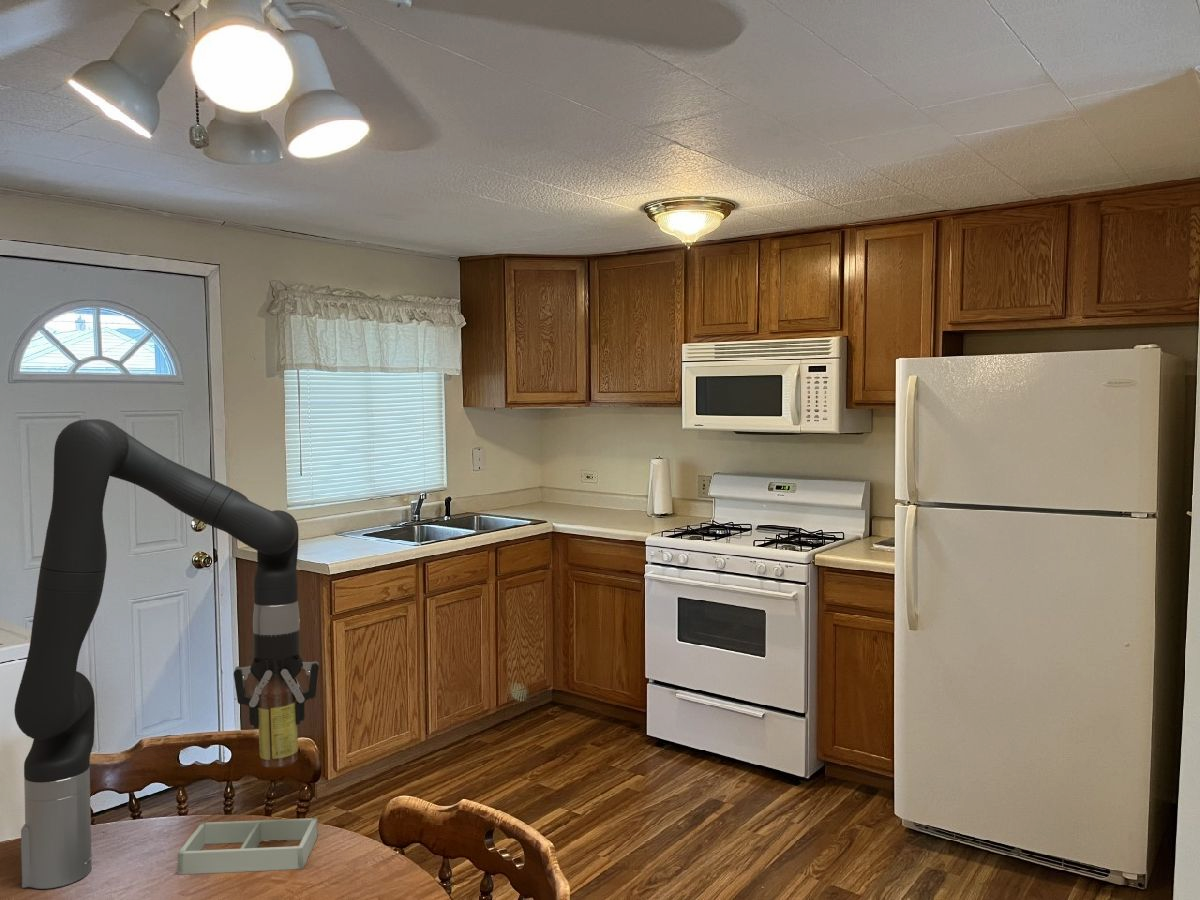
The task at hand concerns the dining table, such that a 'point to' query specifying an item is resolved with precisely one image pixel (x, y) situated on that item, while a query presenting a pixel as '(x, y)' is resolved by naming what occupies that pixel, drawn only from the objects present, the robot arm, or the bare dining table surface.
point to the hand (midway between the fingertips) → (277, 724)
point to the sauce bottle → (277, 720)
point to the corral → (248, 846)
